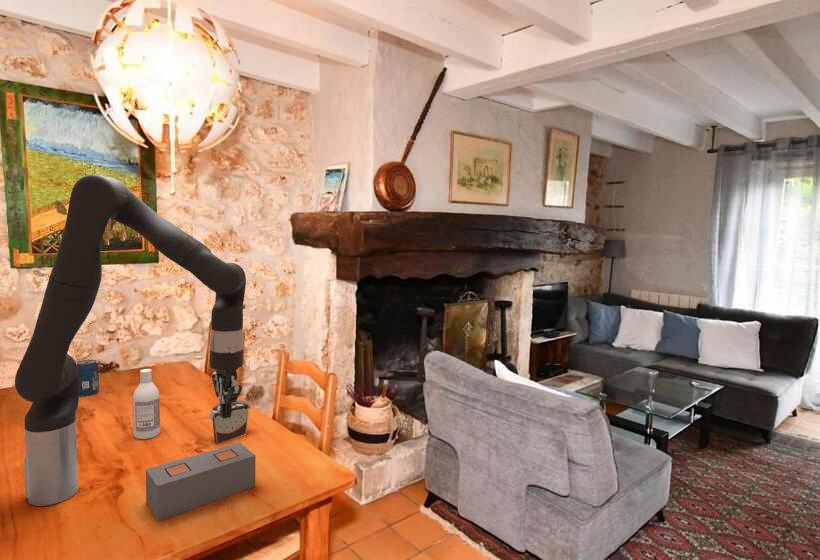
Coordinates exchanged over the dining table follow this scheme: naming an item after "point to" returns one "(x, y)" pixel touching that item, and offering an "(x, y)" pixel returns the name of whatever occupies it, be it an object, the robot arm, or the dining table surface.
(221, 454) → the peg far
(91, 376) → the soda can
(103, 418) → the dining table surface
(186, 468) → the peg near
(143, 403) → the bath foam
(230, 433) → the half cake
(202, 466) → the guide block
